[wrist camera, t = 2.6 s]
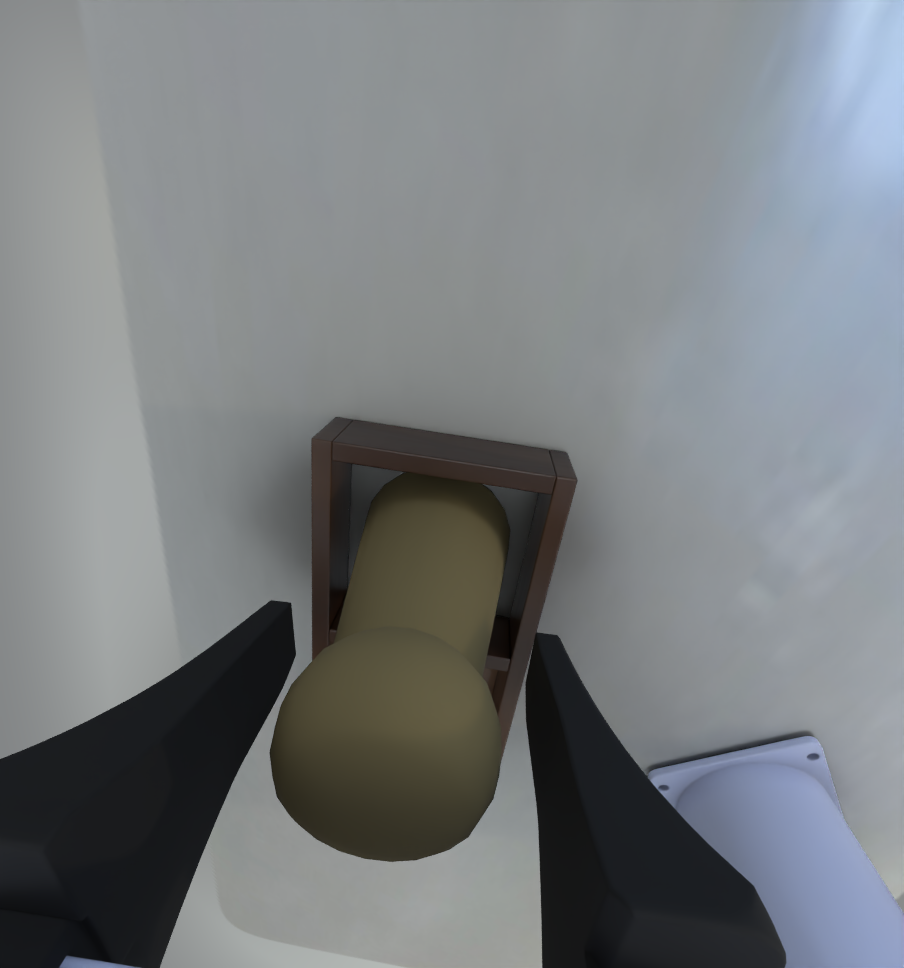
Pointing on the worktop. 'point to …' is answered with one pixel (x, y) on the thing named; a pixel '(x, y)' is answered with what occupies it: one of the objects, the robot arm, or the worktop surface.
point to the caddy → (452, 461)
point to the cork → (402, 682)
